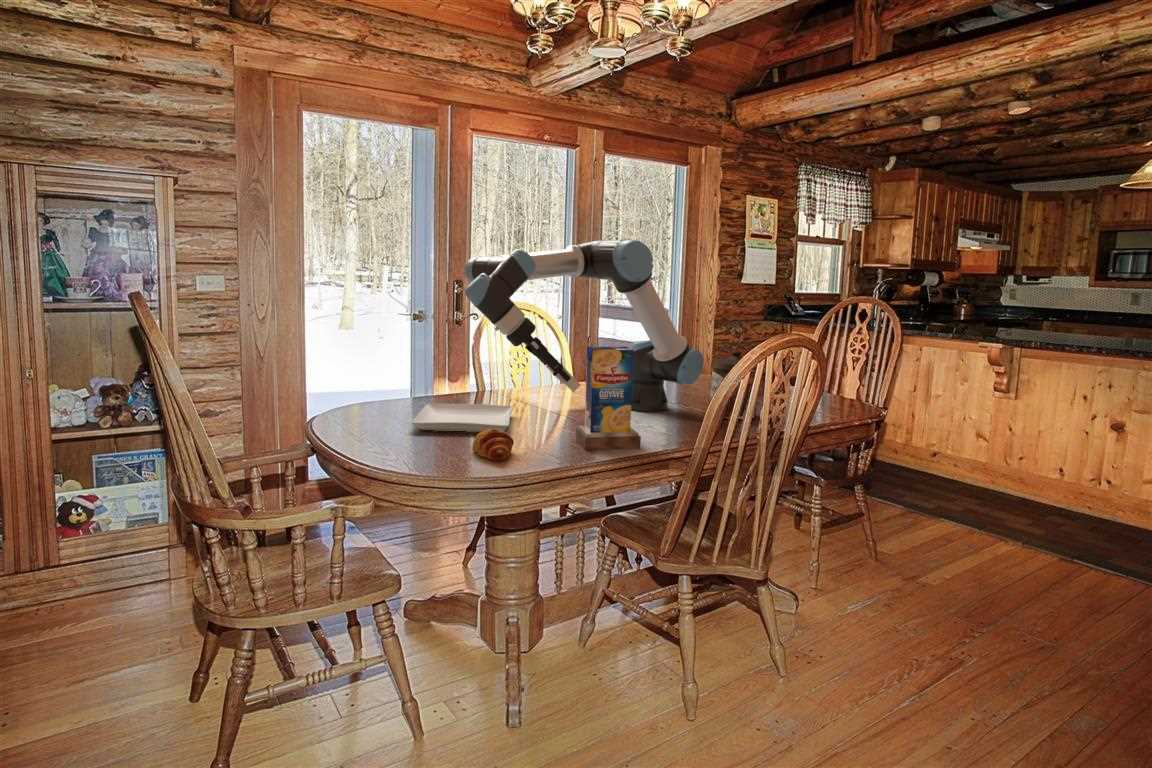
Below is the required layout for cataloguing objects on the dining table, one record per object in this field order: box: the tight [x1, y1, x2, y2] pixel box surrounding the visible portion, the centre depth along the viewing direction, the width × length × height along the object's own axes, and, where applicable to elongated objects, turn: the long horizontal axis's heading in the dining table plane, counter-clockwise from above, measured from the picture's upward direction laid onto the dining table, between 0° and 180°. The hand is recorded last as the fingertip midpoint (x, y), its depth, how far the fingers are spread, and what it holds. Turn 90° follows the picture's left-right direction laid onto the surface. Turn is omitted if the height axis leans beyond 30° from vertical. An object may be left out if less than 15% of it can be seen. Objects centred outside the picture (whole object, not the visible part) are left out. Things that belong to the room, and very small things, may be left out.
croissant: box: [471, 429, 515, 462], centre depth 180 cm, size 21×10×8 cm, turn 18°
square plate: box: [411, 403, 514, 433], centre depth 212 cm, size 27×27×4 cm
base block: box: [575, 425, 642, 451], centre depth 193 cm, size 15×11×4 cm
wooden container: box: [709, 348, 757, 418], centre depth 233 cm, size 15×15×22 cm
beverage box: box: [584, 346, 634, 433], centre depth 191 cm, size 7×11×22 cm, turn 103°
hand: (571, 384), depth 188 cm, fingers open, 13 cm apart
